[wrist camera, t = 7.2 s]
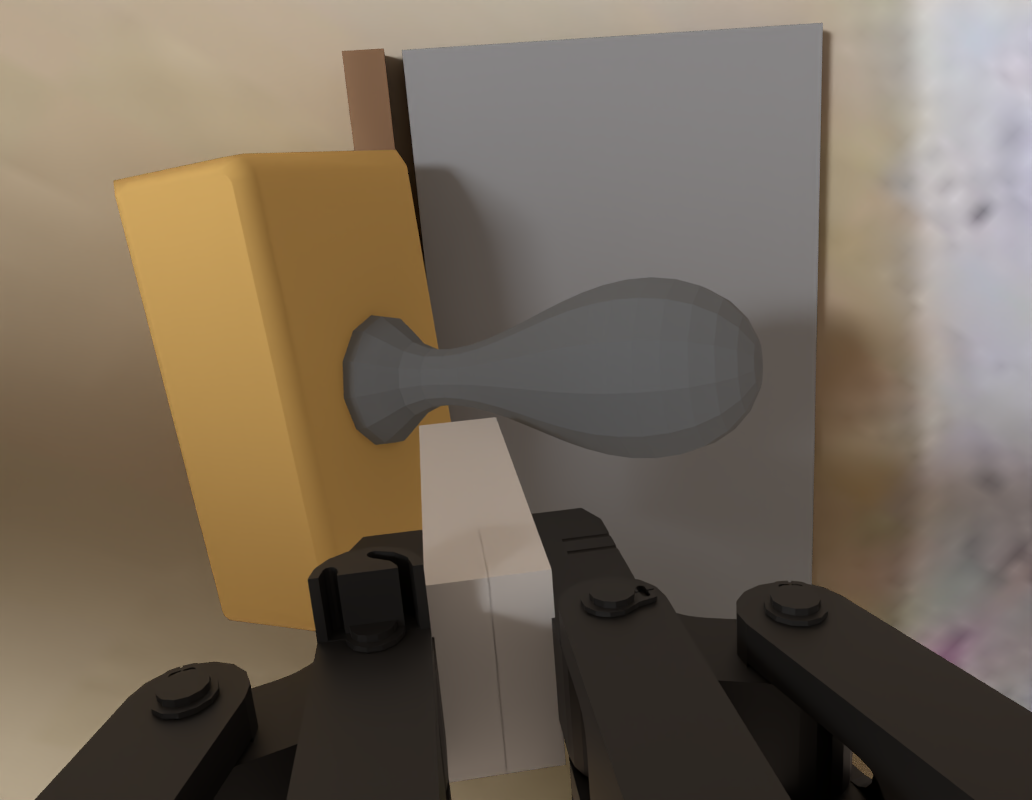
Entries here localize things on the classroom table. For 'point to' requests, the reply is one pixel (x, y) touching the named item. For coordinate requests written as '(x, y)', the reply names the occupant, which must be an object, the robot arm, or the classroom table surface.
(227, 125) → the classroom table surface
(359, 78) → the rail
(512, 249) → the mat
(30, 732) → the classroom table surface
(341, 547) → the rubber stamp
